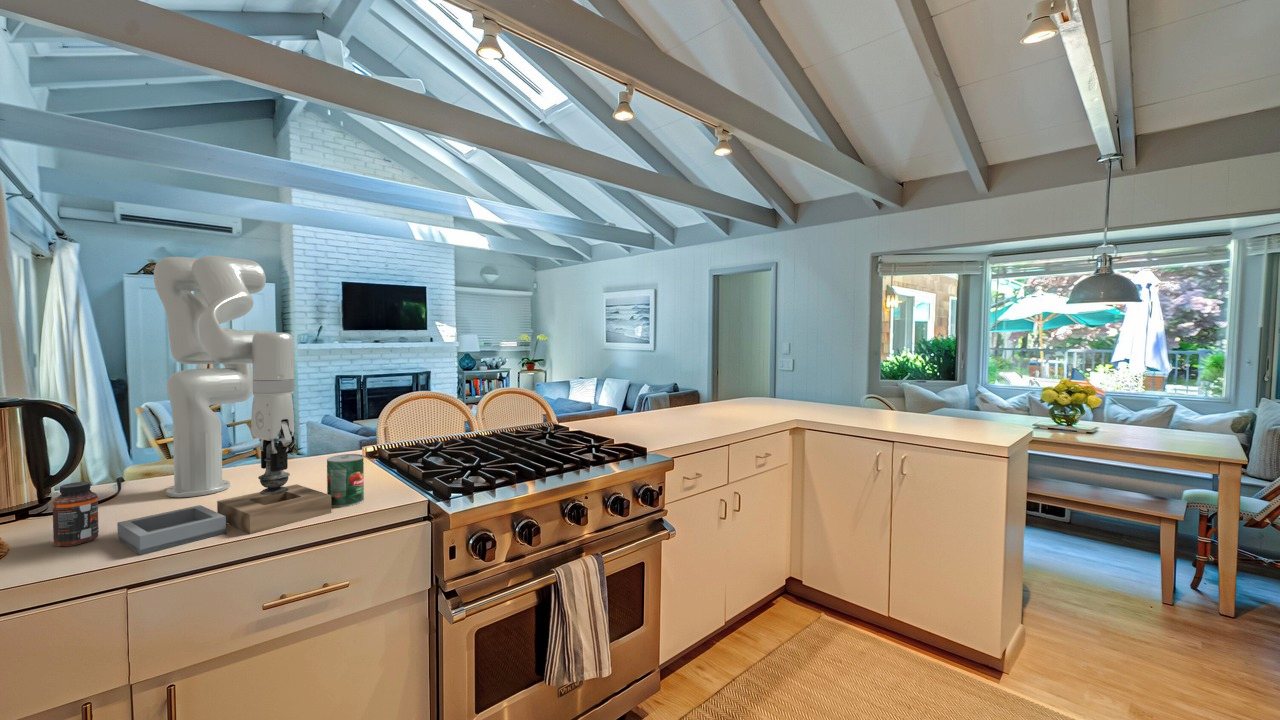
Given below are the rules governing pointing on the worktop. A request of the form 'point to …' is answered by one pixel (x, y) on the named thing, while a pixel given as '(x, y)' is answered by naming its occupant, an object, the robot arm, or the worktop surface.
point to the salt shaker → (273, 477)
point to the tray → (170, 529)
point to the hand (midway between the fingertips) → (274, 468)
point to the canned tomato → (345, 479)
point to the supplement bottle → (75, 515)
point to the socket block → (274, 508)
